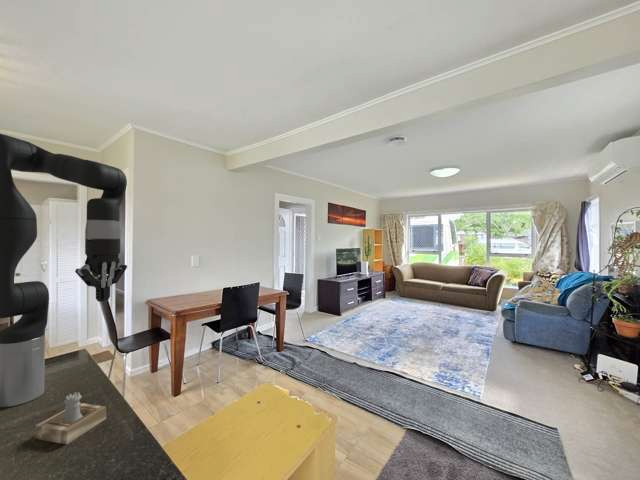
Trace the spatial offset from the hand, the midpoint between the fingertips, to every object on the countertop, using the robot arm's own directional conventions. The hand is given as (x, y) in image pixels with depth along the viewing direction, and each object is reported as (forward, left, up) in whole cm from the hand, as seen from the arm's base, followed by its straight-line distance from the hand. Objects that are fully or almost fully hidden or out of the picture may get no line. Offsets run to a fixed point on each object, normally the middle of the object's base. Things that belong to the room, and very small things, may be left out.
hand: (102, 300), depth 73 cm
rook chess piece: (+1, -8, -29) cm, 30 cm away
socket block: (+1, -8, -29) cm, 30 cm away
